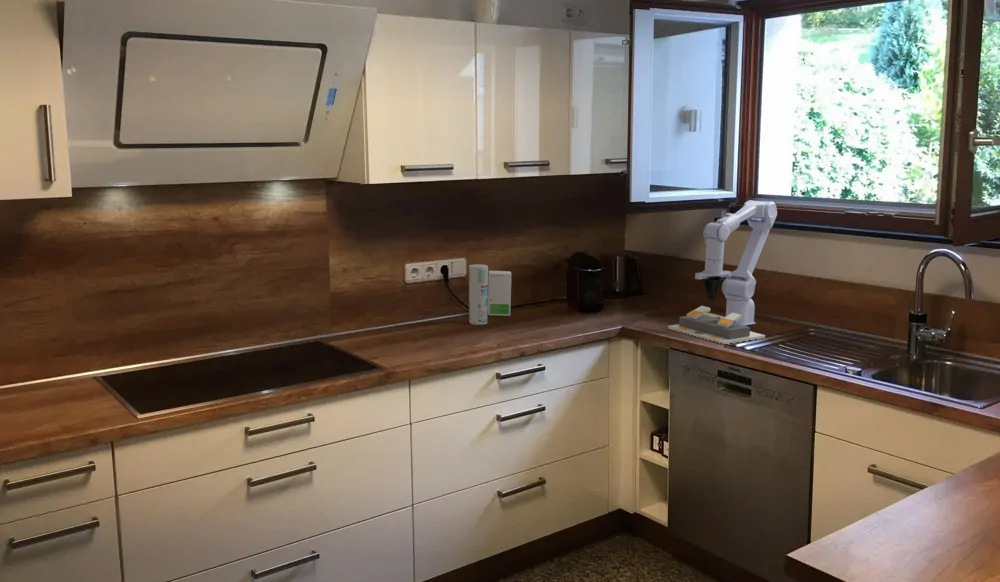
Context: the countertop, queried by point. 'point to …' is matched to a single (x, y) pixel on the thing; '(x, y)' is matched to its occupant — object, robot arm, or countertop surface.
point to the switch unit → (715, 330)
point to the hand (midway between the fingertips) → (711, 299)
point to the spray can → (478, 294)
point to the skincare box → (499, 293)
